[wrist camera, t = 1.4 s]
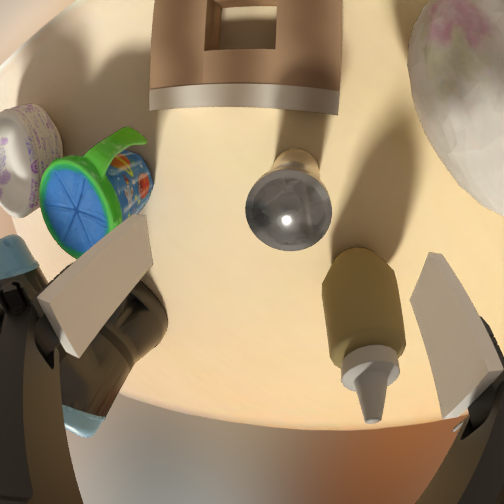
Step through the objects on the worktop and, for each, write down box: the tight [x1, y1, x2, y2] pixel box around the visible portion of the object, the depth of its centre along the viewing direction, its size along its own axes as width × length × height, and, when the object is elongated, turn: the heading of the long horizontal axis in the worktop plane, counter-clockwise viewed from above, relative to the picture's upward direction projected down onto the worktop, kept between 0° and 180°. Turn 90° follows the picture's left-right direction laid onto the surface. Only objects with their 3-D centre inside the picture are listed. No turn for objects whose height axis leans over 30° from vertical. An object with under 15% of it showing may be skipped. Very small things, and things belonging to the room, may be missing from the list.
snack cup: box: [39, 127, 153, 259], centre depth 25 cm, size 16×10×10 cm
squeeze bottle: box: [322, 248, 406, 424], centre depth 22 cm, size 8×8×18 cm
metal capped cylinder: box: [245, 149, 332, 251], centre depth 21 cm, size 5×5×11 cm
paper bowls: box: [0, 103, 63, 218], centre depth 26 cm, size 15×15×8 cm
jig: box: [149, 0, 342, 115], centre depth 18 cm, size 16×14×4 cm
